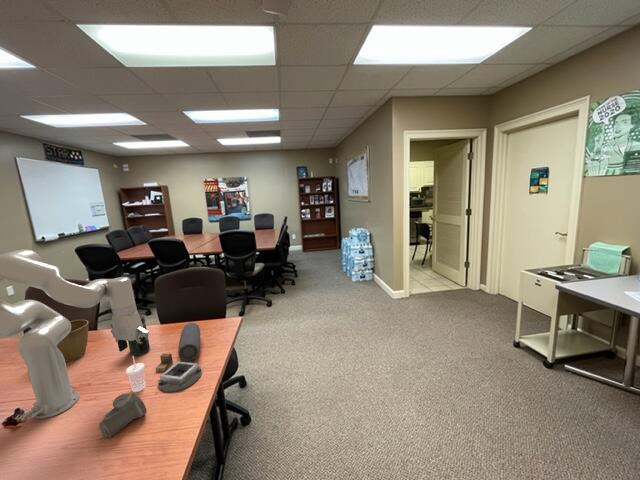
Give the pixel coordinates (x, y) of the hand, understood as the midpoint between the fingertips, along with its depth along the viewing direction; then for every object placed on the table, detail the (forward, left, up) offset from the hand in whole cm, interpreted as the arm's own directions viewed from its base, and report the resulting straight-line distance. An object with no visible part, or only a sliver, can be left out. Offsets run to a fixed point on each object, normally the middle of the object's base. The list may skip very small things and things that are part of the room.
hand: (133, 350), depth 109 cm
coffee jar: (+22, +23, -17) cm, 36 cm away
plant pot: (+12, +52, -17) cm, 56 cm away
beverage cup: (0, 0, -17) cm, 17 cm away
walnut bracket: (+13, 0, -17) cm, 21 cm away
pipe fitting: (-16, -11, -17) cm, 26 cm away
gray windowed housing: (+8, -13, -16) cm, 22 cm away
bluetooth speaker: (+27, -3, -17) cm, 32 cm away
